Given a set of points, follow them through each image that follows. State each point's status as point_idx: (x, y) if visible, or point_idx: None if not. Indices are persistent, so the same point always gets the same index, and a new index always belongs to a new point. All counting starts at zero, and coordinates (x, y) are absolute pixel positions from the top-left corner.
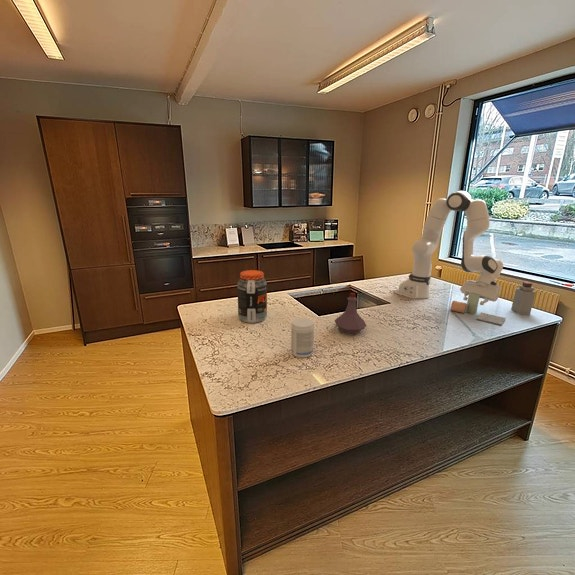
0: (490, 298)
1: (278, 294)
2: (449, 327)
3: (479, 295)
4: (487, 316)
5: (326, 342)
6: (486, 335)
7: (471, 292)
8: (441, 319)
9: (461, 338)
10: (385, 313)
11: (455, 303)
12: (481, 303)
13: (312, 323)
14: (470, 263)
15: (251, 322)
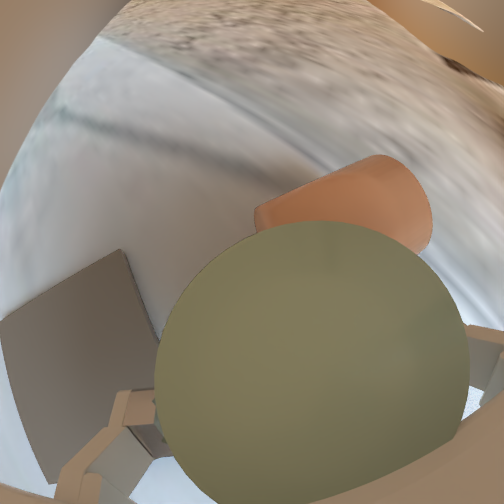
0: (14, 489)
1: (449, 8)
2: (153, 72)
3: (171, 438)
4: (102, 388)
5: None
6: (27, 152)
7: (481, 417)
8: (237, 81)
9: (84, 74)
10: (349, 17)
11: (354, 165)
12: (131, 391)
13: None
14: None
15: None
